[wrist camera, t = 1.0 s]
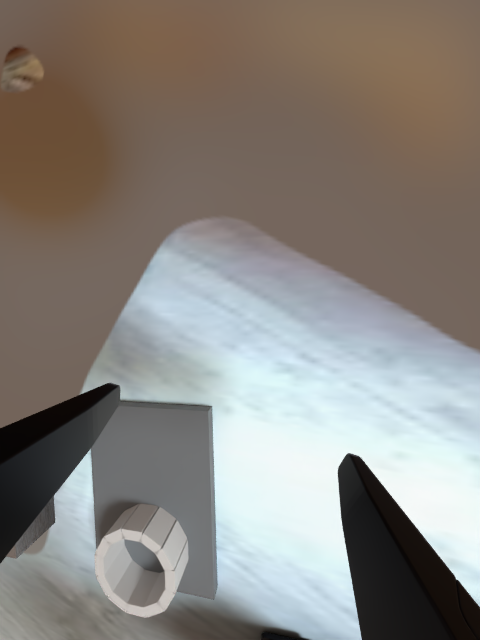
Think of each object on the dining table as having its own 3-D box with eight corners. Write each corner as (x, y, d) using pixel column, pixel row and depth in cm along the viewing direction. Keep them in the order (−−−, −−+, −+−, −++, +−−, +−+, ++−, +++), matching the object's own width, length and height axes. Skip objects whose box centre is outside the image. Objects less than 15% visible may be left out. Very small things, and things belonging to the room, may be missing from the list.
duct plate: (217, 586, 26) (204, 639, 21) (105, 562, 28) (75, 606, 24) (211, 406, 25) (197, 426, 21) (97, 400, 27) (63, 416, 23)
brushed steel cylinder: (53, 419, 29) (-67, 476, 19) (86, 421, 28) (-23, 483, 18) (58, 488, 29) (-58, 580, 19) (89, 493, 28) (-15, 591, 18)
